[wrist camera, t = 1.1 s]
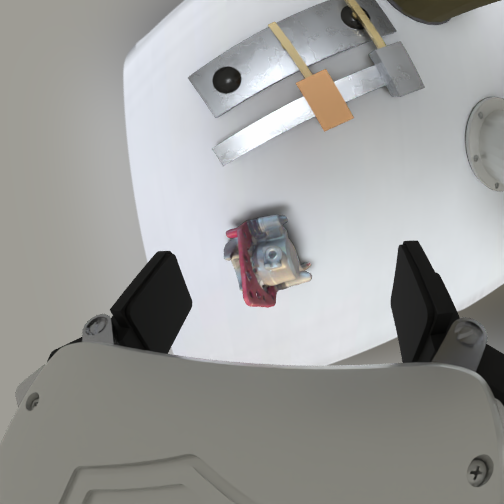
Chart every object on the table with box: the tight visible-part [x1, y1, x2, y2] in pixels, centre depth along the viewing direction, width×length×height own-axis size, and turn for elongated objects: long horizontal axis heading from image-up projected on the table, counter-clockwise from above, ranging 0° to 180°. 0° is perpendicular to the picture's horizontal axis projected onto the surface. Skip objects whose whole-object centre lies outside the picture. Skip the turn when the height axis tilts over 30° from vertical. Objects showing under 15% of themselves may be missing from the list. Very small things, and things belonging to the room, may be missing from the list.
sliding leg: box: [268, 22, 354, 132], centre depth 21 cm, size 3×12×5 cm, turn 32°
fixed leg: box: [344, 0, 425, 97], centre depth 18 cm, size 3×12×4 cm, turn 32°
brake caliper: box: [224, 215, 312, 307], centre depth 33 cm, size 11×11×12 cm
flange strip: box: [188, 0, 396, 118], centre depth 22 cm, size 23×6×1 cm, turn 122°
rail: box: [212, 65, 385, 166], centre depth 25 cm, size 24×2×2 cm, turn 122°
